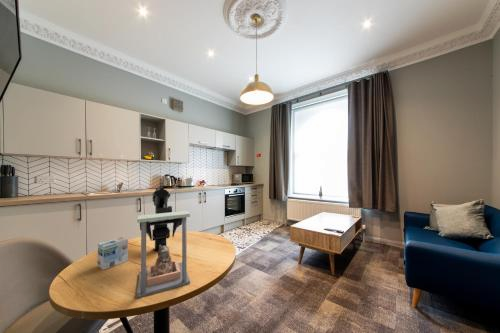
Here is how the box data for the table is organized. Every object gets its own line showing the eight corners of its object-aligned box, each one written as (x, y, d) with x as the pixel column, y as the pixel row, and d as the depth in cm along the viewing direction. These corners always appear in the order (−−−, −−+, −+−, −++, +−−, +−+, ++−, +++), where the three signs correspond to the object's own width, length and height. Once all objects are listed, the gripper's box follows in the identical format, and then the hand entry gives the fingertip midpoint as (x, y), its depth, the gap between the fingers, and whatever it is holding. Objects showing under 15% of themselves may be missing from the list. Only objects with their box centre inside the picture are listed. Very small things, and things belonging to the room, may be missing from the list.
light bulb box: (102, 270, 84) (103, 246, 85) (96, 266, 88) (97, 243, 88) (128, 260, 94) (128, 239, 94) (121, 257, 97) (122, 236, 98)
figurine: (158, 281, 73) (159, 250, 74) (150, 275, 77) (150, 246, 78) (175, 273, 79) (175, 245, 79) (167, 268, 83) (167, 241, 83)
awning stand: (139, 274, 81) (140, 210, 82) (183, 264, 89) (183, 206, 90) (136, 298, 65) (137, 219, 66) (190, 283, 73) (190, 213, 74)
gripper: (140, 202, 87) (138, 233, 77) (182, 199, 96) (185, 226, 86) (140, 215, 94) (139, 245, 84) (180, 211, 103) (182, 238, 93)
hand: (162, 238), depth 87 cm, fingers open, 9 cm apart
